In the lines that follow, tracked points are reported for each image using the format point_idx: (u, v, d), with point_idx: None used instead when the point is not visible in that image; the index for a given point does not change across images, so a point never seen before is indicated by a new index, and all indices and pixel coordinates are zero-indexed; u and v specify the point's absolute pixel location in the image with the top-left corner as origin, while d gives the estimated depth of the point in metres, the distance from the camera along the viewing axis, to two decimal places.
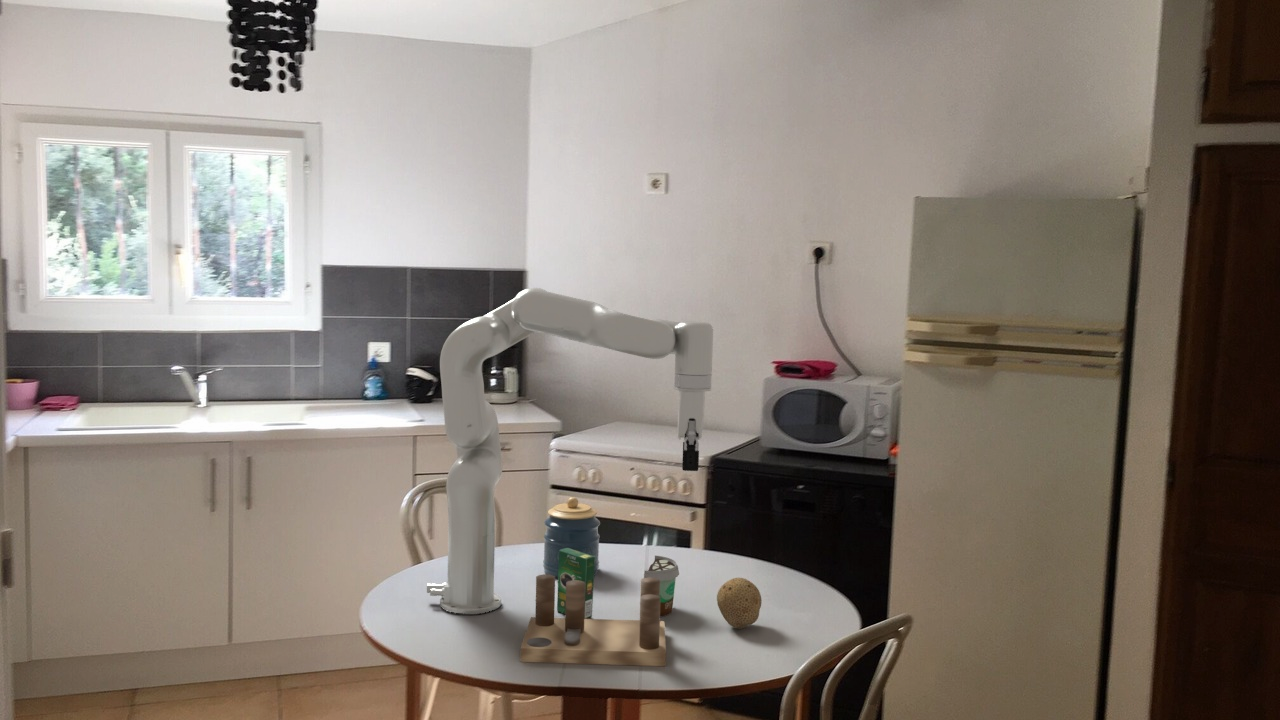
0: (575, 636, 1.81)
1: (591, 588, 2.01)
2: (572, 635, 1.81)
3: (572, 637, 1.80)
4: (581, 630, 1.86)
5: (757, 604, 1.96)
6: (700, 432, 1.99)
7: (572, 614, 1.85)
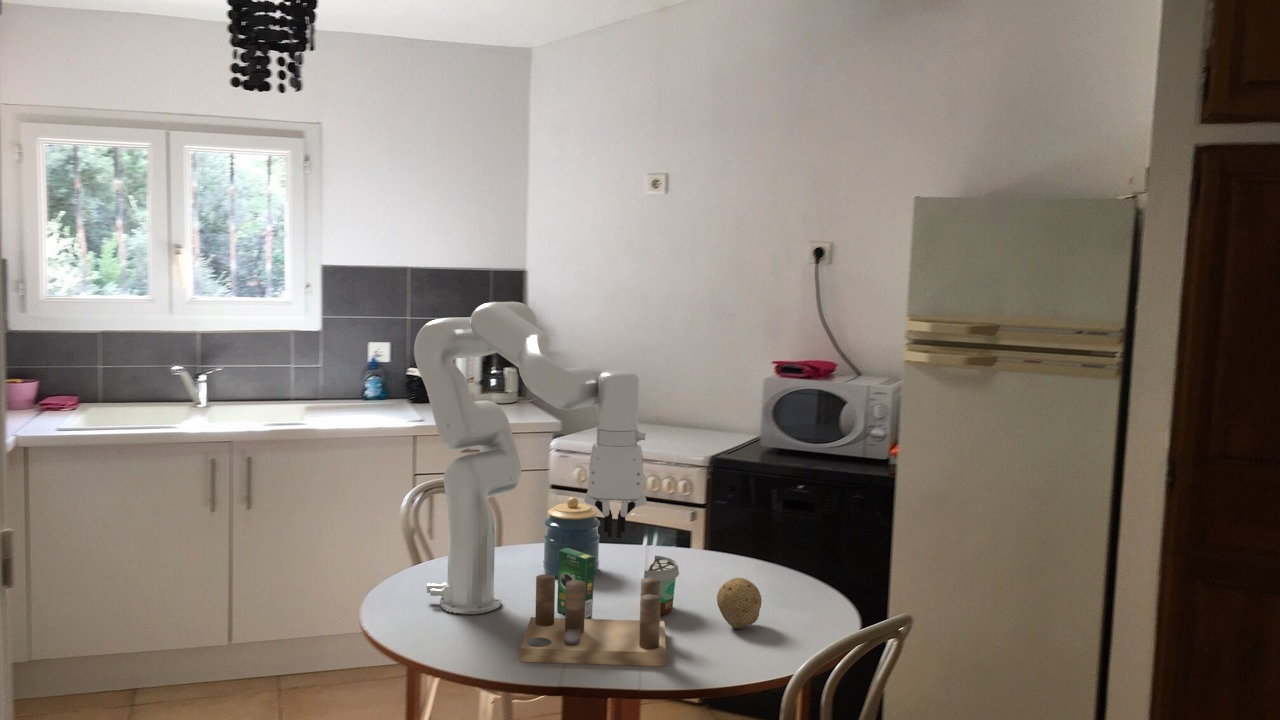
0: (575, 636, 1.81)
1: (591, 588, 2.01)
2: (572, 635, 1.81)
3: (572, 637, 1.80)
4: (581, 630, 1.86)
5: (757, 604, 1.96)
6: (589, 489, 1.83)
7: (572, 614, 1.85)
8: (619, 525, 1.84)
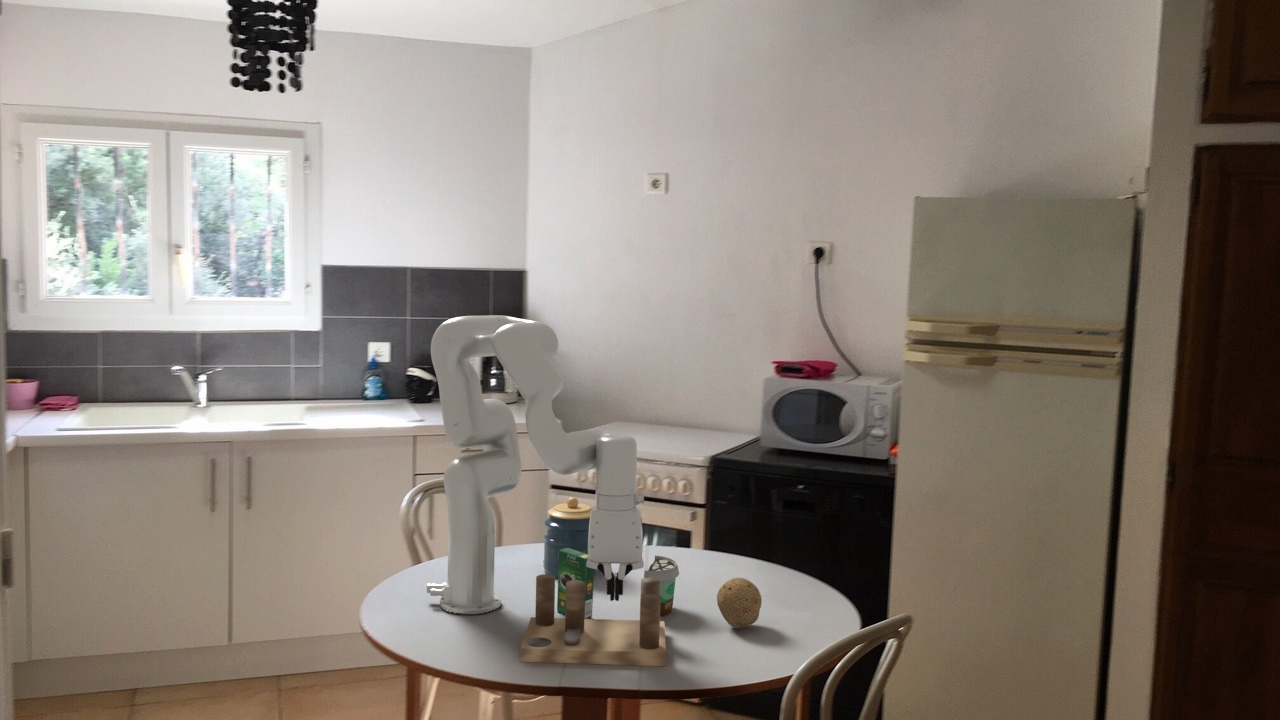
0: (575, 636, 1.81)
1: (591, 588, 2.01)
2: (572, 635, 1.81)
3: (572, 637, 1.80)
4: (581, 630, 1.86)
5: (757, 604, 1.96)
6: (588, 553, 1.84)
7: (572, 614, 1.85)
8: (617, 588, 1.85)
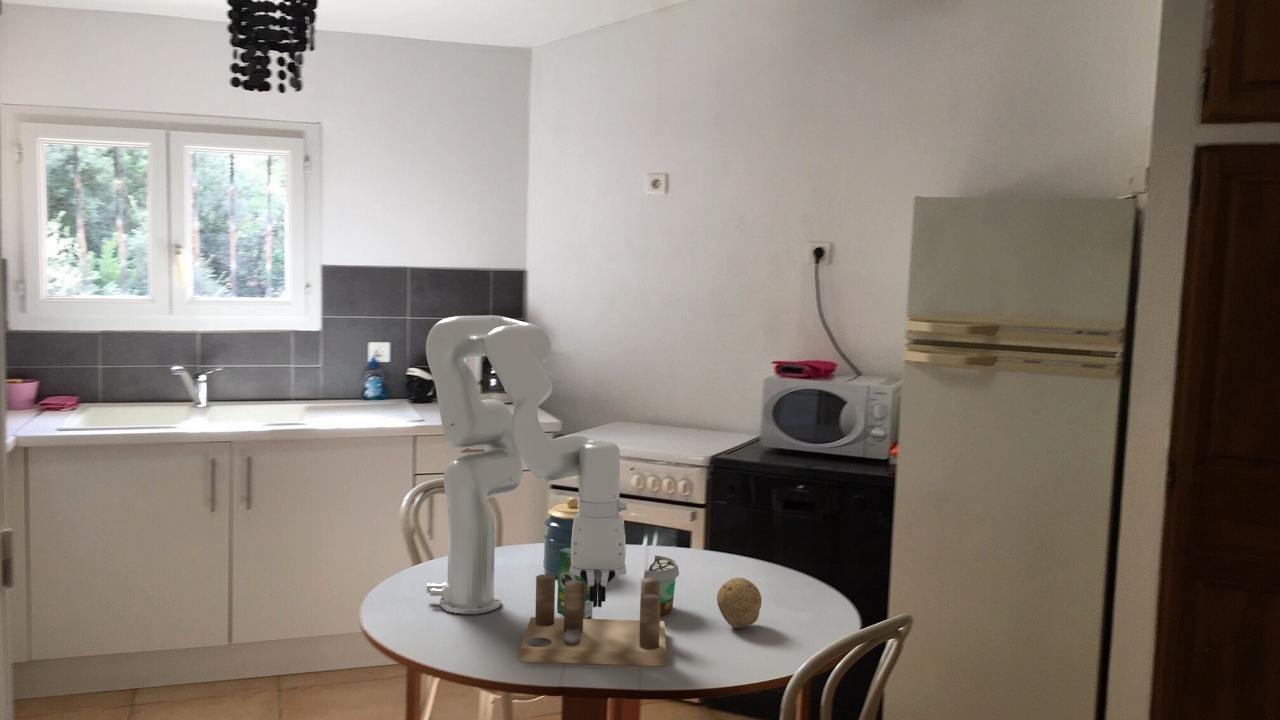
0: (575, 636, 1.81)
1: None
2: (572, 635, 1.81)
3: (572, 637, 1.80)
4: (580, 630, 1.86)
5: (757, 604, 1.96)
6: (571, 560, 1.84)
7: (572, 614, 1.85)
8: (599, 595, 1.85)
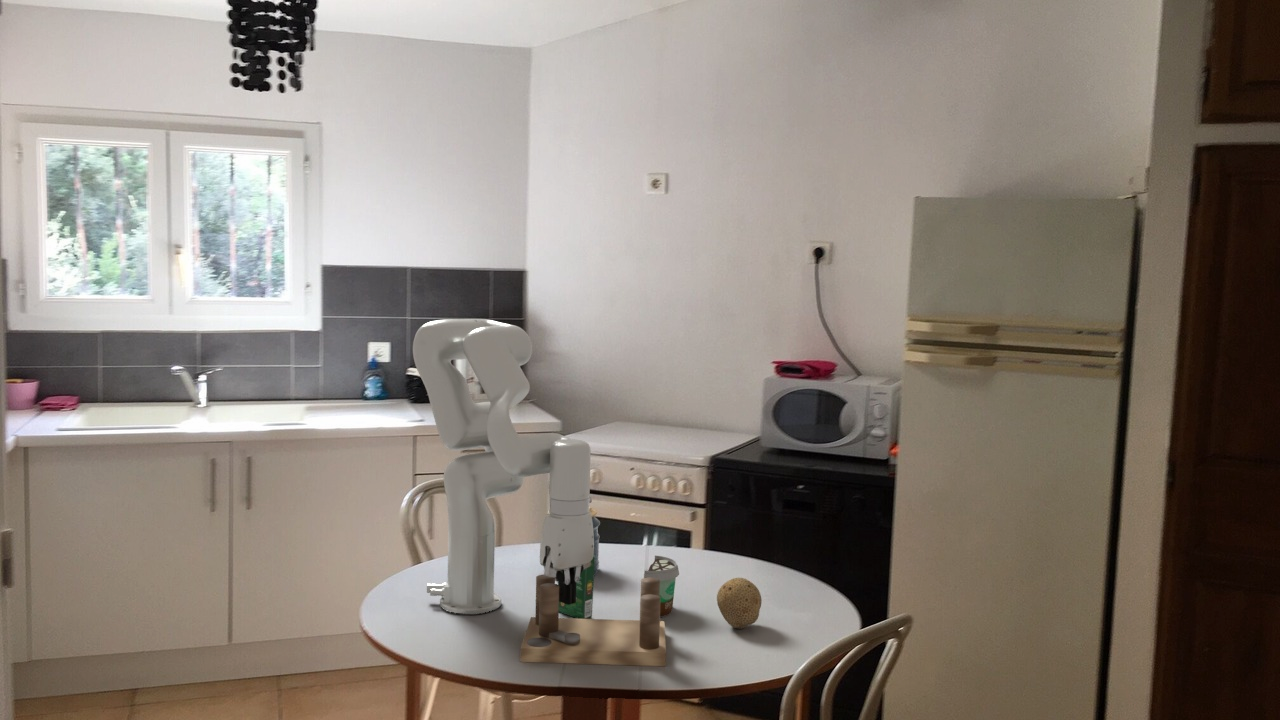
0: (576, 635, 1.82)
1: (591, 588, 2.01)
2: (573, 635, 1.81)
3: (576, 636, 1.81)
4: None
5: (757, 604, 1.96)
6: (555, 562, 1.82)
7: (554, 617, 1.84)
8: (574, 591, 1.87)
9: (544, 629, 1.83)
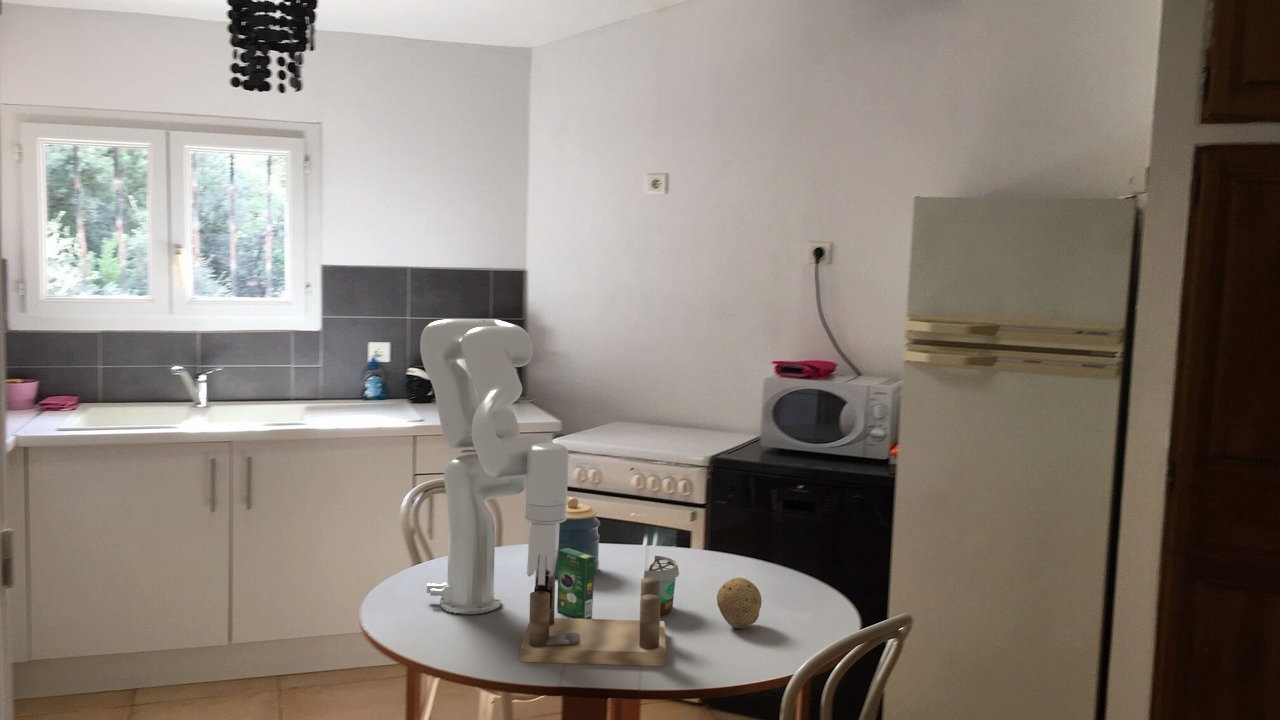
0: (574, 634, 1.82)
1: (591, 588, 2.01)
2: (572, 635, 1.82)
3: (577, 635, 1.82)
4: None
5: (757, 604, 1.96)
6: (552, 569, 1.79)
7: None
8: None
9: (542, 638, 1.79)
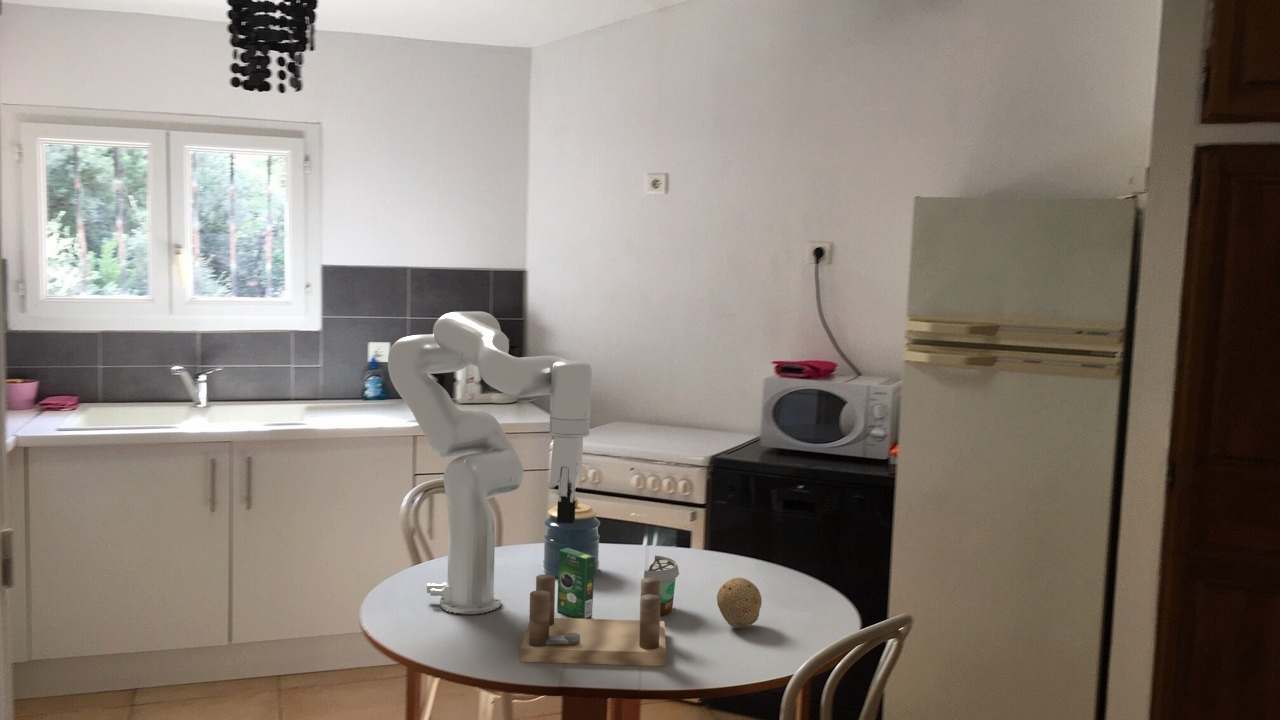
0: (574, 634, 1.82)
1: (591, 588, 2.01)
2: (572, 635, 1.82)
3: (577, 635, 1.82)
4: None
5: (757, 604, 1.96)
6: (573, 481, 1.84)
7: None
8: None
9: (542, 638, 1.79)
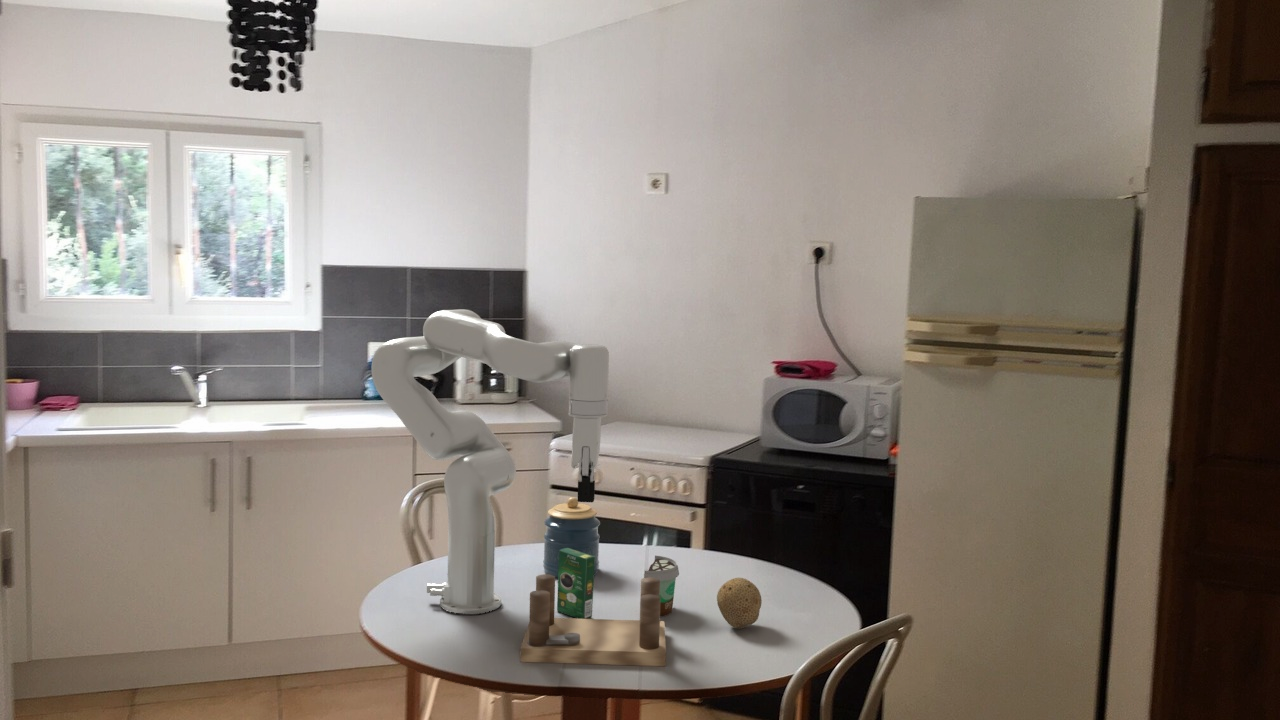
0: (574, 634, 1.82)
1: (591, 588, 2.01)
2: (572, 635, 1.82)
3: (577, 635, 1.82)
4: None
5: (757, 604, 1.96)
6: (594, 461, 1.90)
7: None
8: (594, 488, 1.96)
9: (542, 638, 1.79)
